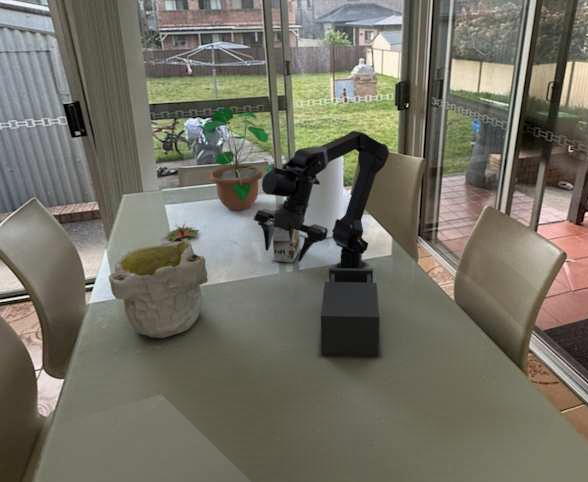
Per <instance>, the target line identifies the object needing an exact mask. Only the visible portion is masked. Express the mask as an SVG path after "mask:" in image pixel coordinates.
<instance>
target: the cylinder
mask: <svg viewBox="0 0 588 482" xmlns="http://www.w3.org/2000/svg"><path fill="white" fill-rule="evenodd" d="M316 177H317V179H318V180H319V182H320V184H319V185H316V184H313V187H312V190H311V194H310V198H309V202H308V204H309V205H308V208H307V209H306V213H305V217H304V219H305V220H304V223H303V224H304V225H307V226H311V225H314V224H315V225H319V226H322V227H325V228H327V231H328V233H327V236H326V239H328V238H333V232H332V230H333V229H334V226H335V221H336V220H337V219H339V220H340V219H341V218H343V217H344V155H343V156H341V157H339V158H337V159H334V160H332V161H331V162H329V163H328V165H327V167H326V168H325V169H324V170H322V171H321V172H320V173H318V174H317V175H316ZM299 234H300V236H303V237H304V238H306V237H308V235H307V233H305V232H302V231H299Z"/></svg>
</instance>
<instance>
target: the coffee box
mask: <svg viewBox="0 0 588 482" xmlns="http://www.w3.org/2000/svg"><path fill="white" fill-rule="evenodd" d="M282 206H283V203H280V204H278V206H277V207H276V208H275V210H273V211H274V212H277V211H278V210H279V209H281V208H282ZM300 236H301V234H299V230H296V229H293V228H292V230H291V231H285V230H284V229H281V228H276V227H275V228H274V232H273V236H272V247H273V249H272V250H273V261H275V262H282V263H283V262H284V263H292V264H293V262H294V261H295V259H296V257H297V256H298V254H299V253H300V252H301V239H300V238H301V237H300Z"/></svg>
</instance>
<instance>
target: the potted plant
mask: <svg viewBox="0 0 588 482" xmlns="http://www.w3.org/2000/svg"><path fill="white" fill-rule="evenodd" d="M237 117H238V118H241V117H244V120H241V121H239V120H238V122H240V123H244V135H243V136H242V135H241V136H240V135H239V136H237V135H235V136H234V135H233V132H232V129H231V127H230V125H229V121H230V120H232V119H234V113H233V109H231V108H222V109H219V110H217V111H215V112H214V114H213V115H212V117H211V121H207V122H205V123H204V124H203V129H204V131H205V132H206V136H205V140H204V143H203V144H204V145H205V144H207V143H208V139H209V134H210V133H209V132H210V131H212V130H214V129H215V128H216V127H218V128H219V130H220V131H221V133H222V135H223V136H224V138H225V140H226V142H227V144H228V147H229V149H230V150H229V151H228V150H227V151H225V152H223V151H222V149H221V147H220V146H219V144H218V142H217V140H216V139H215V138H213V140H214V142H215V144H216V146H217V148H218V149H219V151H220V152H221V153H219V154H218V155H217V157H216V158H215V163H217V164H218V165H220V166H225V167H221V168H217V169H216V170H213V171H212V172H211V173H210V177H209V179H210V180H211V181H212V182H214V184H215V186H216V192H217V197H218V199H219V201H220V202H221V204H222V205H224V207H226V208H227V209H229V210H231V211H244V210H247V209H249V208H251V207H252V205H253V204H254V203H255V202H256V200H257V199H258V196H259V180H260V179H261V178H262V177H263V171H262V170H261V169H263V170H266V173H268V172H269V171H271V167H272V166H273V167H276V166H275V165H274V163H270V165H269V166H268V167H267V168H264V167H262V166H253V165H244V164H243V165H241V163H243V162H244V161H246V159H247V158H248V157H249V156H250V155H251V153H252V151H253V148H254V144H255V141H256V139H257V140H258V141H260V142H261V143H265V144H266V143H267V142H268V141H269V134H268V133H267V132H266V131H265V129H264V128H261V127H258V126H256V124H255V123H253V122H252V121H250V120H247V117H250V118H253V119H255V120H256V119H257V116H256V114H255V113H253V112H249V111H248V112H244V113H243V112H242V113H240V114H238V115H237ZM226 125H227V126H228V128H229V131H230V134H231V136H230V138H231V139H232V141H233V142H232V143H233V145H234V150H235V151H233V149H232V147H231V144H230V142H229V140H228V139H227V137H226V135H225V132H224V131H223V129H222V128H221V126H226ZM248 125H252V126H248ZM247 130H248V131H249V132H250V133H251V134H253V136H255V137H254V140H253V142H252V147H251V149H250V150H249V153H248V154H247V156H246V157H244V158H243V159H242V160H241V161H240V158H241V155H242V152H243V149H244V144H245V141H246V135H247ZM210 136H211V137H213V135H212V134H210ZM235 139H237V147H236V143H235ZM242 139H243V140H242ZM239 140H242V142H241V145H240V141H239ZM239 145H240V147H239ZM234 152H235V153H234ZM238 154H239V155H238ZM234 159H235V160H234ZM226 165H229V166H226Z"/></svg>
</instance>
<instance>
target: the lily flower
mask: <svg viewBox="0 0 588 482" xmlns="http://www.w3.org/2000/svg"><path fill="white" fill-rule="evenodd" d="M183 222H184V223H183V224H182V226H181V227H180V225H177V226H176V224H175V225H174V226H173V227H176V228H175V229H174V230H171V231H169V232H168V234H167V235H166V236H164V237H163V238H164V239H171V242H175V241H176V240H177V239H178V240H181V241H182V240H185V239H187V240H189V239H188V238H190V237H197V235H196V234H195V233H198V232H200V231H201V230H200V229H193V227H189V225H187V226H186V224H187V223H186V222H185V221H183Z"/></svg>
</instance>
